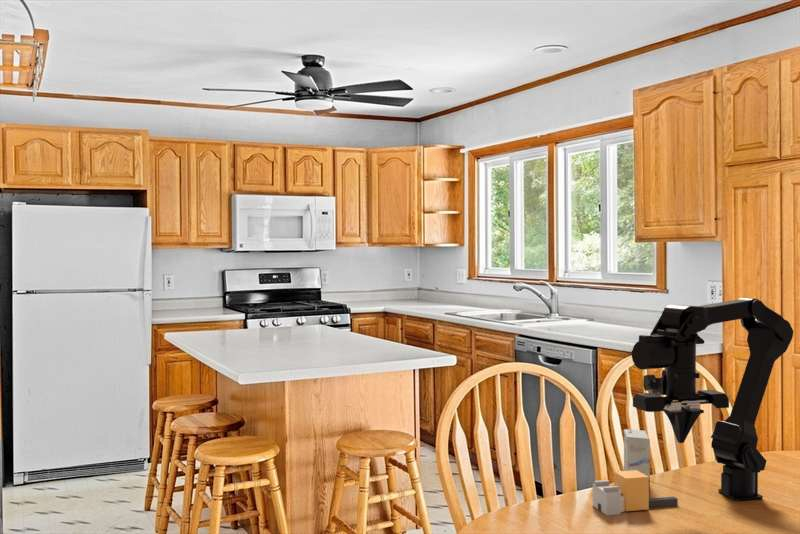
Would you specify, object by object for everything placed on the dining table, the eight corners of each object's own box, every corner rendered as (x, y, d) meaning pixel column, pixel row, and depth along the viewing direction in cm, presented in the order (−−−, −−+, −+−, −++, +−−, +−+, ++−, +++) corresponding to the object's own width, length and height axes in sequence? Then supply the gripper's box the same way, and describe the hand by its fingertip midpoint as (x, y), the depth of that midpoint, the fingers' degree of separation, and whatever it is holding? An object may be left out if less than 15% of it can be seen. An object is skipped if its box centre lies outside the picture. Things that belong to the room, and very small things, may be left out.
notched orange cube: (636, 501, 159) (636, 470, 159) (648, 509, 154) (648, 476, 154) (614, 503, 158) (614, 471, 158) (625, 511, 153) (625, 478, 153)
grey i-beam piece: (606, 504, 158) (606, 479, 158) (620, 514, 152) (620, 487, 152) (592, 505, 157) (592, 480, 157) (606, 515, 152) (606, 488, 151)
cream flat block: (615, 505, 157) (615, 491, 157) (624, 511, 154) (624, 496, 154) (611, 506, 157) (611, 491, 157) (619, 512, 153) (619, 497, 153)
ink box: (650, 492, 166) (650, 438, 165) (627, 491, 167) (627, 437, 166) (645, 481, 174) (646, 429, 174) (623, 479, 175) (623, 428, 175)
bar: (673, 503, 159) (673, 496, 159) (677, 505, 157) (677, 498, 157) (597, 509, 155) (597, 502, 155) (601, 511, 154) (601, 504, 154)
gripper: (698, 359, 166) (698, 431, 167) (619, 362, 162) (619, 435, 163) (730, 367, 156) (730, 443, 156) (647, 370, 152) (647, 449, 152)
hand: (680, 442), depth 157 cm, fingers closed
